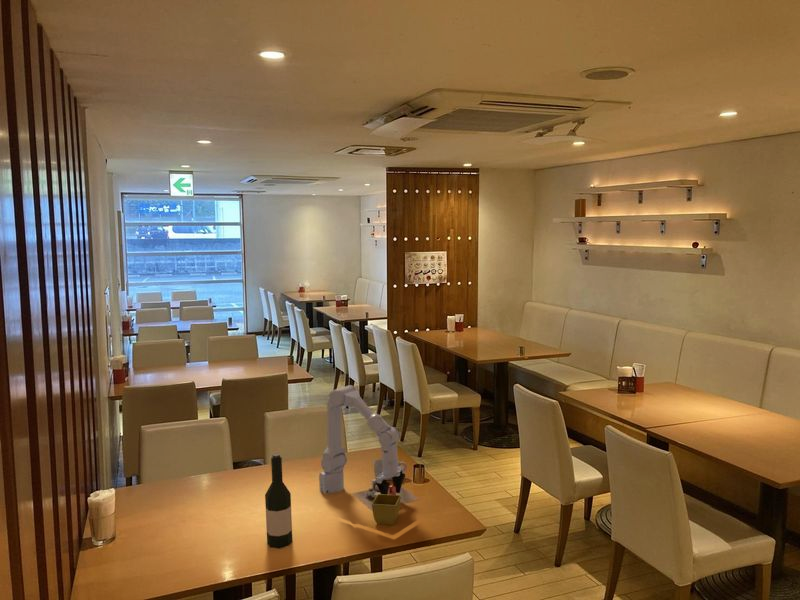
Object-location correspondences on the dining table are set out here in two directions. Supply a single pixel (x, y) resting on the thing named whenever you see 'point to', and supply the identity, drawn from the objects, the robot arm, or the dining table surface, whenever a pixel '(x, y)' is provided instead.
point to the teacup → (379, 467)
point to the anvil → (373, 484)
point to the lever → (373, 494)
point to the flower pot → (386, 508)
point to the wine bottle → (278, 508)
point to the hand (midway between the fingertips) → (391, 495)
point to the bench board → (403, 493)
